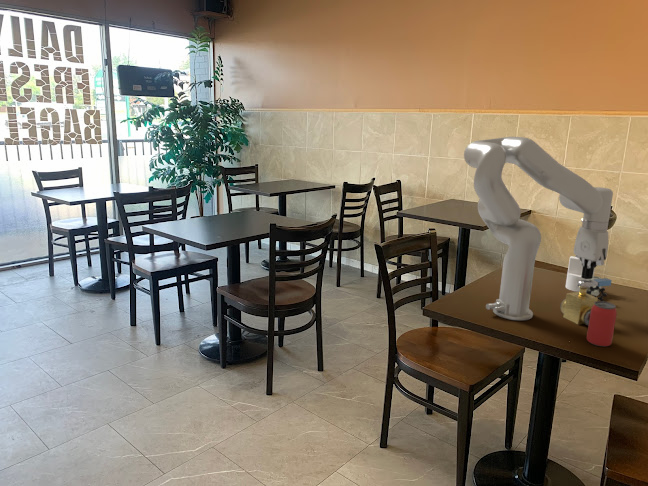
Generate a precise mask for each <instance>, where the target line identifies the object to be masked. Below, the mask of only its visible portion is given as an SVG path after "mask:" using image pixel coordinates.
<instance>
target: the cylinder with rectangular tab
mask: <svg viewBox="0 0 648 486" xmlns="http://www.w3.org/2000/svg"><path fill="white" fill-rule="evenodd" d="M581 263H582V262H581V260H580V259H579V258H577V257H576V256H573V255H571V256H569V261H568V269H567V273H566V280H565V288H566V289H567V290H569V291H572V292H579V290H580V287H578V286H577V285H578V281H579V280H586V281H590V280H591V279H584V278H582V277H581V276H582V269H583V266H582V265H581ZM595 270H596V268H594V271H593V276H595ZM587 290H588V291H589V288H587Z"/></svg>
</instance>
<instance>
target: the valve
mask: <svg viewBox="0 0 648 486" xmlns="http://www.w3.org/2000/svg"><path fill="white" fill-rule="evenodd" d="M594 279H602V277H600V276H597V275H594V276H593V278H592V279H591V280H594ZM605 291H606V288H605V286H601V287H598V286H592V287H590V288H589V291H588V290H587V291H586V293H587V294H589V295H592V296H594V297H596V298H598V301H604V298H605V297H607V293H606V292H605ZM604 292H605V293H604ZM600 293H601V294H600ZM599 295H600V296H599ZM597 296H598V297H597ZM603 297H604V298H603Z"/></svg>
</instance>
